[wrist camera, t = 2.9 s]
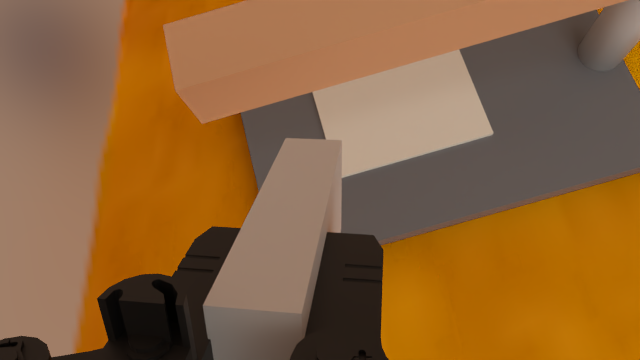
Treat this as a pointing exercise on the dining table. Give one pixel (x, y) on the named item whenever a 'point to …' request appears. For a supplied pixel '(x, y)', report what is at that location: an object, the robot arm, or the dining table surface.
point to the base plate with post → (473, 126)
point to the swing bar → (330, 43)
